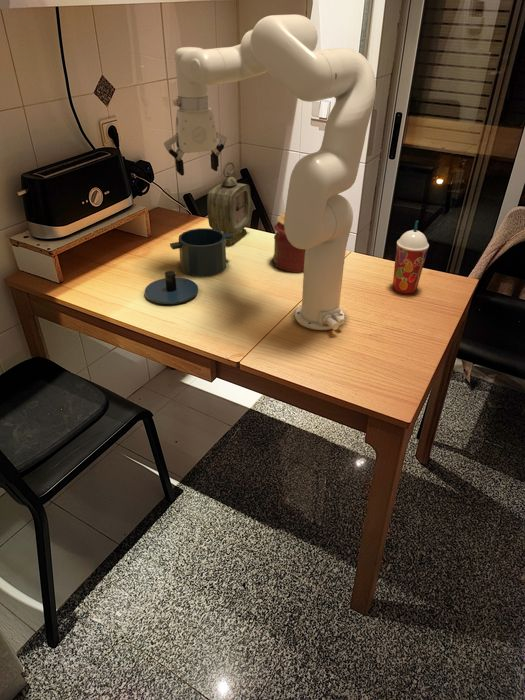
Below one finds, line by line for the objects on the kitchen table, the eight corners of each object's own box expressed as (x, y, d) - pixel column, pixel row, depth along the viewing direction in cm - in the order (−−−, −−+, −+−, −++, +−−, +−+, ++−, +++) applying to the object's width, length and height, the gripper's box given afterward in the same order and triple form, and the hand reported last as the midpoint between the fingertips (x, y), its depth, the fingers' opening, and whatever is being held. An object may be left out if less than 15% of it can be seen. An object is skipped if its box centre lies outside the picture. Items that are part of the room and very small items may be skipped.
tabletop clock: (231, 248, 169) (229, 170, 155) (207, 243, 172) (203, 166, 158) (251, 232, 180) (250, 158, 165) (228, 228, 183) (225, 155, 168)
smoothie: (424, 288, 147) (439, 220, 135) (409, 299, 142) (423, 229, 130) (399, 279, 151) (410, 213, 140) (383, 289, 146) (394, 221, 135)
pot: (241, 269, 156) (241, 239, 150) (181, 282, 149) (178, 251, 143) (223, 252, 166) (222, 224, 160) (166, 263, 159) (163, 234, 153)
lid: (206, 299, 141) (204, 278, 137) (154, 310, 135) (151, 289, 132) (187, 277, 151) (186, 257, 148) (139, 287, 146) (136, 267, 143)
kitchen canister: (324, 266, 158) (328, 209, 148) (290, 276, 152) (292, 218, 142) (298, 251, 167) (301, 197, 157) (265, 260, 161) (265, 205, 151)
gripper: (165, 108, 125) (171, 179, 135) (230, 103, 132) (232, 171, 142) (156, 103, 131) (163, 172, 141) (219, 98, 137) (221, 164, 147)
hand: (197, 172), depth 141 cm, fingers open, 9 cm apart
